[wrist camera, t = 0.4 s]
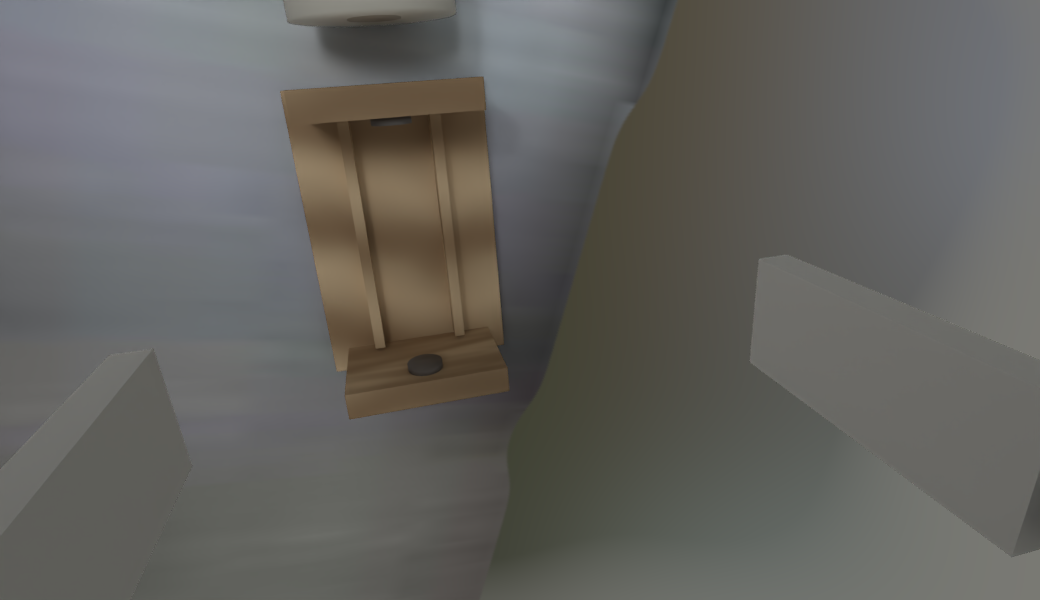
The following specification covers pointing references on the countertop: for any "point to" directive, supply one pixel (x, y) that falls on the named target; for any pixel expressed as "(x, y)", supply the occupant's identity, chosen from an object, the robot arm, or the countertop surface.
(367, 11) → the roll
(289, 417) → the countertop surface
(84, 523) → the robot arm
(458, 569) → the countertop surface
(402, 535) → the countertop surface
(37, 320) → the countertop surface
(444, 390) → the holder
